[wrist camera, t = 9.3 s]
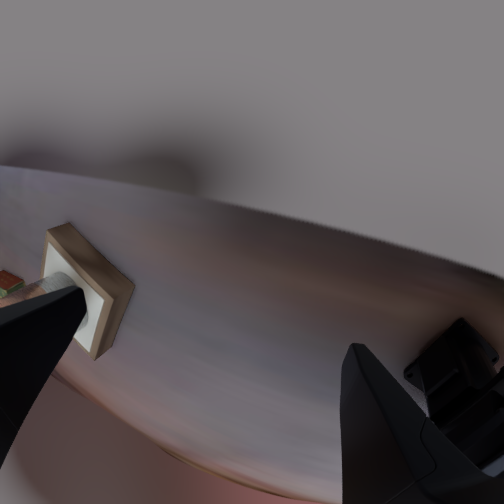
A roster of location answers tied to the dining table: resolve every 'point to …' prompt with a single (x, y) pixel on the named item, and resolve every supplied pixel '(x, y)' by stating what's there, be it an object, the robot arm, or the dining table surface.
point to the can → (42, 291)
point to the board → (88, 285)
